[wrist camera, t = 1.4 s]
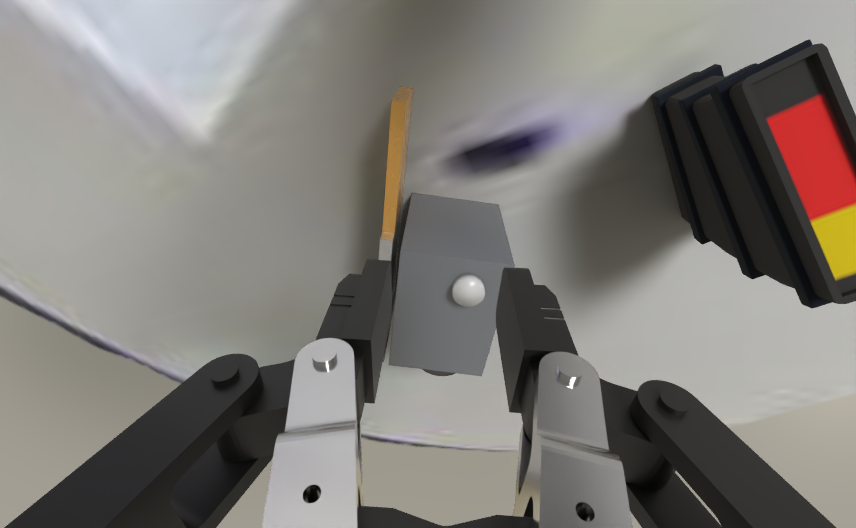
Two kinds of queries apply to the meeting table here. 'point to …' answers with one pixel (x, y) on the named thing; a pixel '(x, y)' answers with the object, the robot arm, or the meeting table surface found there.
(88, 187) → the meeting table surface
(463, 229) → the grey box with knob
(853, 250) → the black ribbed block
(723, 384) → the meeting table surface
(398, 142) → the orange and gray panel
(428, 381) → the meeting table surface
